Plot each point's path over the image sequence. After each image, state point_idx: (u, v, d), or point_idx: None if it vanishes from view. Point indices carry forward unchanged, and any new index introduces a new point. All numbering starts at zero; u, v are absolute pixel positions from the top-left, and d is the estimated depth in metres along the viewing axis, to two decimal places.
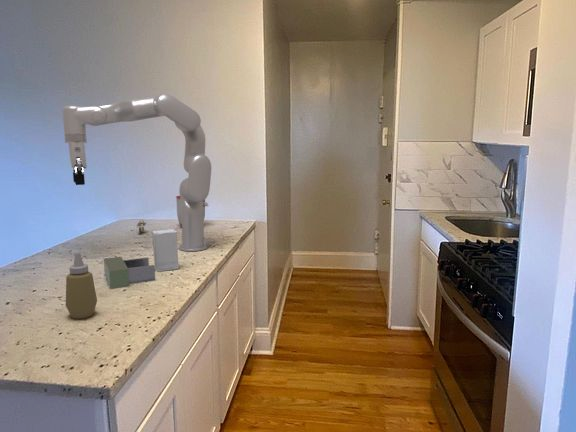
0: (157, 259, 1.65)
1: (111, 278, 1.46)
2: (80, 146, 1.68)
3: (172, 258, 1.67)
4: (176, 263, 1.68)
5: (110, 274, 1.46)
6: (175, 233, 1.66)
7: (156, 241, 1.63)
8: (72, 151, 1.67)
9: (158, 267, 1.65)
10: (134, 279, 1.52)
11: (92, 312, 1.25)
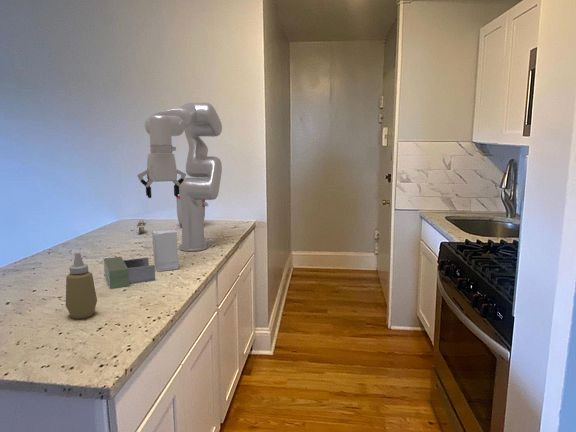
0: (157, 259, 1.65)
1: (111, 278, 1.46)
2: None
3: (172, 258, 1.67)
4: (176, 263, 1.68)
5: (110, 274, 1.46)
6: (175, 233, 1.66)
7: (156, 241, 1.63)
8: (175, 162, 1.63)
9: (158, 267, 1.65)
10: (134, 279, 1.52)
11: (92, 312, 1.25)
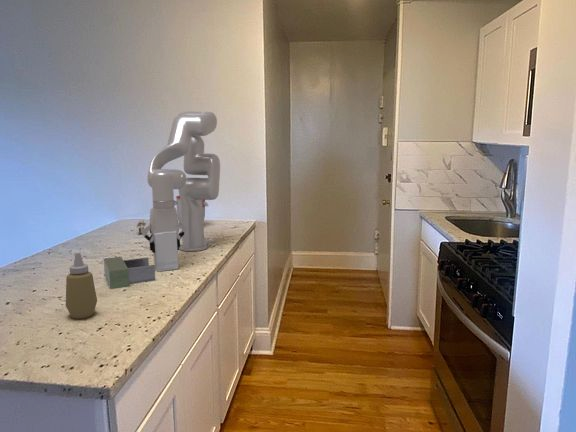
0: (157, 259, 1.65)
1: (111, 278, 1.46)
2: None
3: (172, 258, 1.67)
4: (176, 263, 1.68)
5: (110, 274, 1.46)
6: (175, 233, 1.66)
7: (156, 241, 1.63)
8: (177, 216, 1.66)
9: (158, 267, 1.65)
10: (134, 279, 1.52)
11: (92, 313, 1.25)
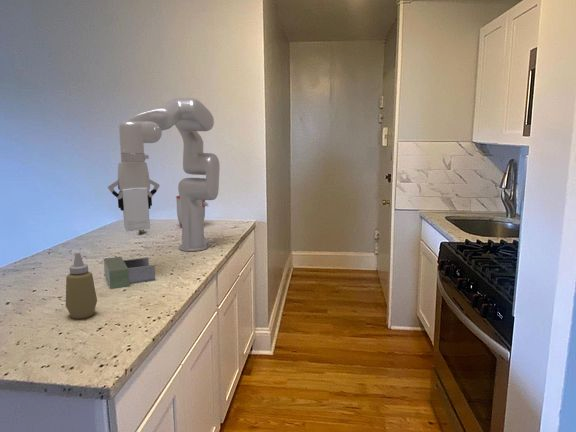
0: (126, 217, 1.51)
1: (111, 278, 1.46)
2: None
3: (143, 217, 1.54)
4: (147, 223, 1.55)
5: (110, 274, 1.46)
6: (146, 189, 1.52)
7: (124, 197, 1.50)
8: (148, 172, 1.53)
9: (127, 226, 1.52)
10: (134, 279, 1.52)
11: (92, 312, 1.25)
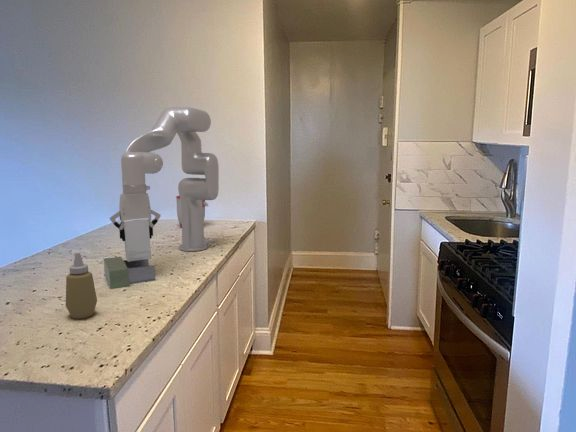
0: (127, 248, 1.53)
1: (111, 278, 1.46)
2: None
3: (144, 247, 1.55)
4: (148, 252, 1.56)
5: (110, 274, 1.46)
6: (147, 220, 1.54)
7: (126, 228, 1.52)
8: (149, 202, 1.55)
9: (128, 256, 1.54)
10: (134, 279, 1.52)
11: (92, 312, 1.25)
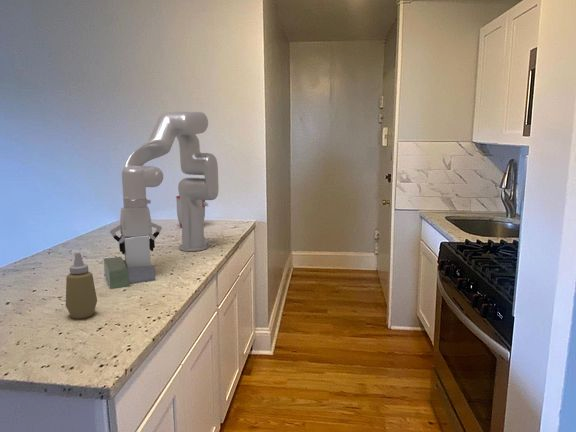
0: (128, 265, 1.54)
1: (111, 278, 1.46)
2: None
3: (144, 264, 1.57)
4: None
5: (110, 274, 1.46)
6: (147, 237, 1.55)
7: (127, 246, 1.53)
8: None
9: None
10: (134, 279, 1.52)
11: (92, 312, 1.25)
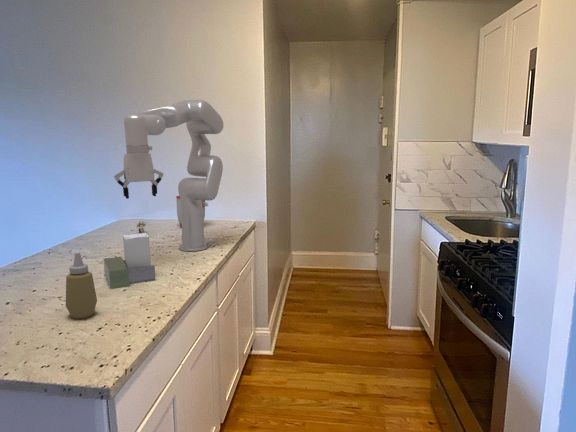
0: (128, 265, 1.54)
1: (111, 278, 1.46)
2: None
3: (144, 264, 1.57)
4: None
5: (110, 274, 1.46)
6: (147, 237, 1.55)
7: (127, 246, 1.53)
8: None
9: None
10: (134, 279, 1.52)
11: (92, 312, 1.25)
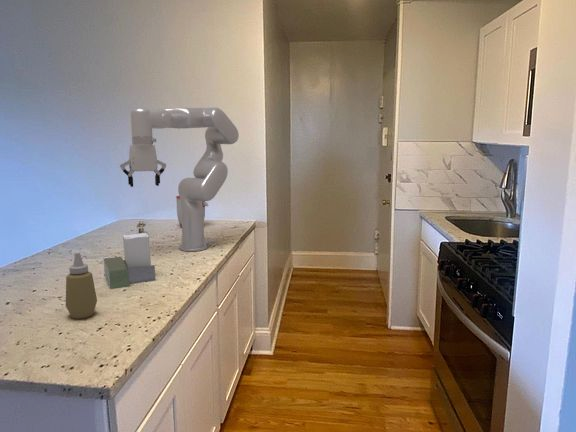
0: (128, 265, 1.54)
1: (111, 278, 1.46)
2: None
3: (144, 264, 1.57)
4: None
5: (110, 274, 1.46)
6: (147, 237, 1.55)
7: (127, 246, 1.53)
8: (155, 153, 1.73)
9: None
10: (134, 279, 1.52)
11: (92, 312, 1.25)
